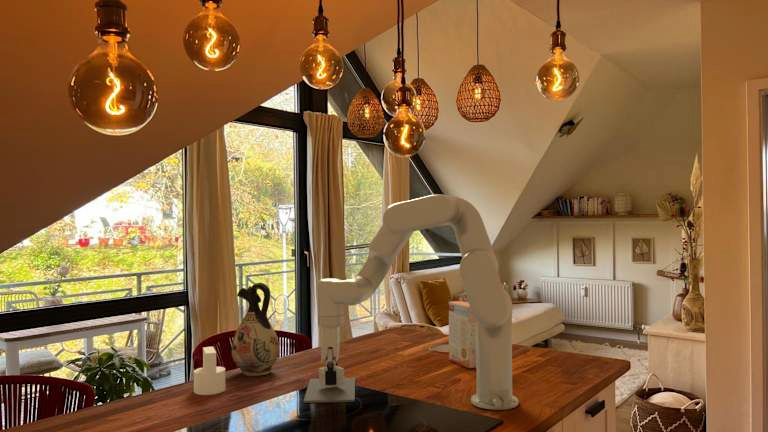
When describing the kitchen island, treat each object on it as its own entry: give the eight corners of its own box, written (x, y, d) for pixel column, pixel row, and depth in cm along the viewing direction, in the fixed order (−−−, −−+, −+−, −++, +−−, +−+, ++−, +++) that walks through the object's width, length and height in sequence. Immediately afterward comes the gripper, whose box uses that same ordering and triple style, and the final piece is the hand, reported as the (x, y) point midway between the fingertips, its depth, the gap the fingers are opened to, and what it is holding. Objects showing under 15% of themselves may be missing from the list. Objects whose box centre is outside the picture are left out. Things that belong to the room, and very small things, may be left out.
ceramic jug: (221, 376, 189) (220, 283, 189) (253, 365, 203) (252, 278, 203) (262, 382, 181) (261, 285, 181) (292, 370, 195) (292, 280, 195)
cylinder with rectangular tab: (192, 388, 176) (192, 348, 176) (223, 384, 180) (223, 345, 180) (195, 396, 168) (194, 354, 168) (227, 392, 171) (226, 351, 171)
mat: (354, 401, 162) (354, 399, 162) (303, 402, 161) (303, 400, 161) (355, 379, 184) (355, 377, 184) (310, 380, 183) (310, 378, 183)
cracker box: (484, 367, 197) (483, 305, 197) (468, 369, 194) (467, 306, 195) (463, 358, 210) (462, 300, 210) (448, 360, 207) (447, 301, 208)
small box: (334, 380, 176) (334, 364, 176) (345, 385, 172) (344, 368, 172) (318, 384, 173) (318, 367, 173) (328, 388, 168) (327, 371, 168)
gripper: (319, 316, 181) (320, 373, 181) (315, 326, 163) (316, 389, 163) (344, 315, 181) (345, 372, 181) (342, 325, 164) (343, 389, 164)
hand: (331, 380), depth 172 cm, fingers closed on small box, 7 cm apart
